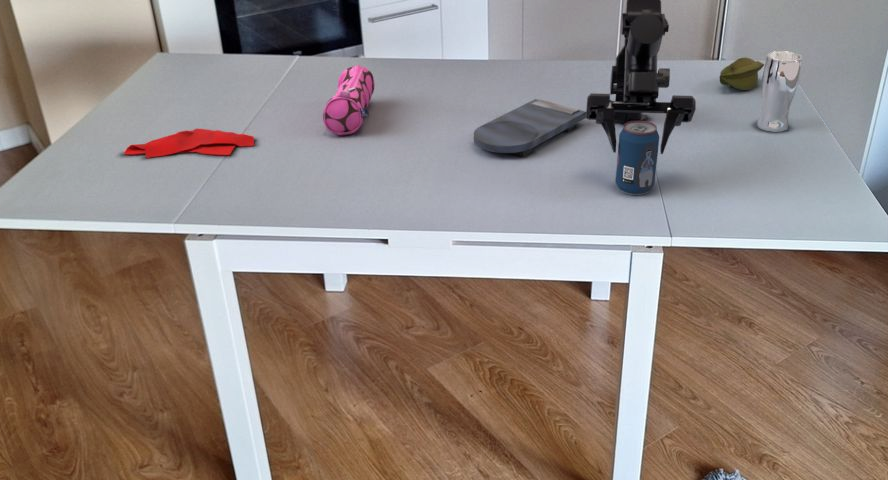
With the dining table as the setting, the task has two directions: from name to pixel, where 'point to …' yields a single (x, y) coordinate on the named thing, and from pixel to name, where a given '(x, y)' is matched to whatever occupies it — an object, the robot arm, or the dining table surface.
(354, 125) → the pencil case
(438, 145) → the dining table surface
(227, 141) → the cloth
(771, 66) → the beer glass
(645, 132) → the soda can
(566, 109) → the grey kitchen scale
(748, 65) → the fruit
